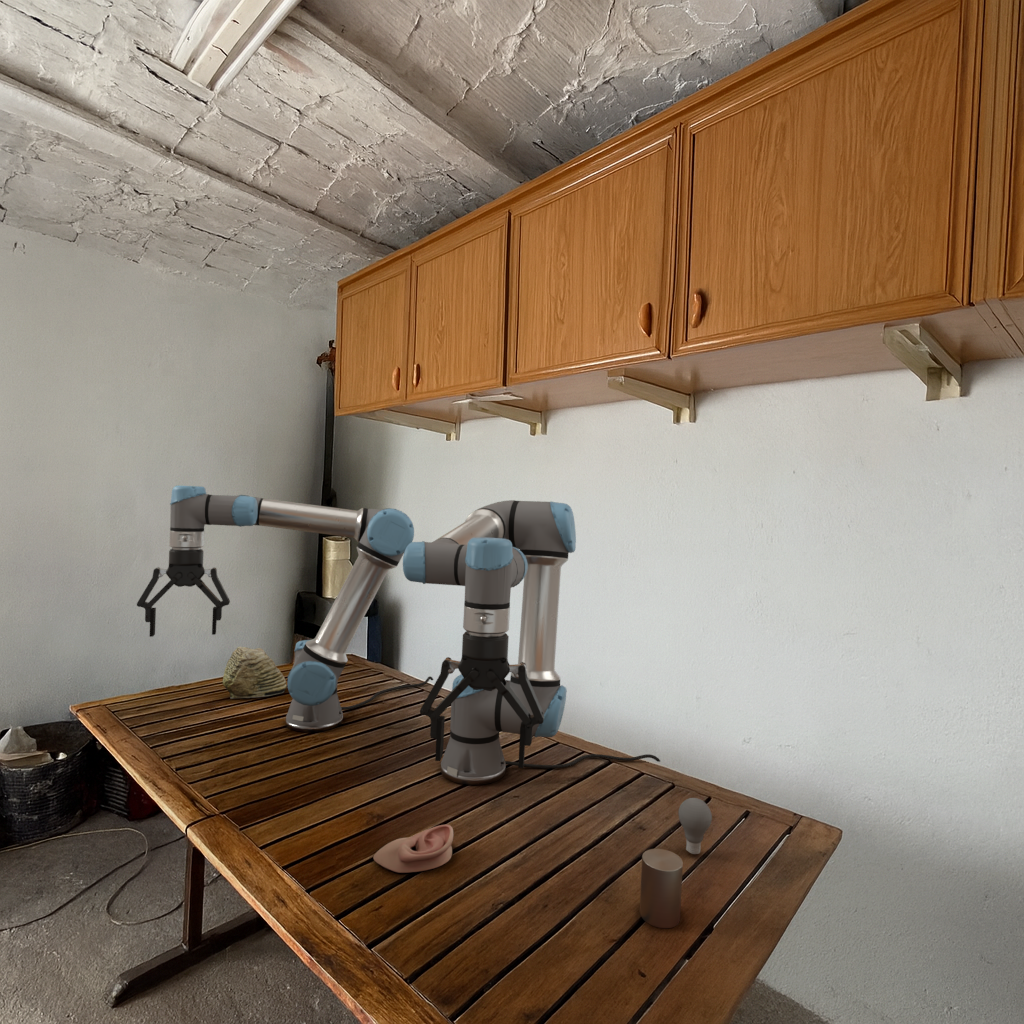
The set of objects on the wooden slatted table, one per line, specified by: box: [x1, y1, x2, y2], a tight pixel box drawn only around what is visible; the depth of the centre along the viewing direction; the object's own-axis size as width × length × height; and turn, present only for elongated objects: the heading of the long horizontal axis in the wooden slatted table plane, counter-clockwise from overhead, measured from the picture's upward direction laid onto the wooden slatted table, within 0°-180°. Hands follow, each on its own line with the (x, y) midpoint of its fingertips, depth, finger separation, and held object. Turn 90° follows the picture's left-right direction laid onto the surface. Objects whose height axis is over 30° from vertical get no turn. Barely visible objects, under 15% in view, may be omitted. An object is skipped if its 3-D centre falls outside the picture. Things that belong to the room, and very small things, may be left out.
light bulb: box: [677, 797, 713, 855], centre depth 118 cm, size 6×6×10 cm
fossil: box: [222, 646, 288, 699], centre depth 198 cm, size 9×18×15 cm, turn 132°
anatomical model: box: [372, 824, 455, 874], centre depth 113 cm, size 13×4×12 cm
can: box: [639, 848, 684, 929], centre depth 100 cm, size 6×6×9 cm
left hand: (183, 634), depth 156 cm, fingers open, 13 cm apart
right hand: (480, 761), depth 104 cm, fingers open, 13 cm apart
